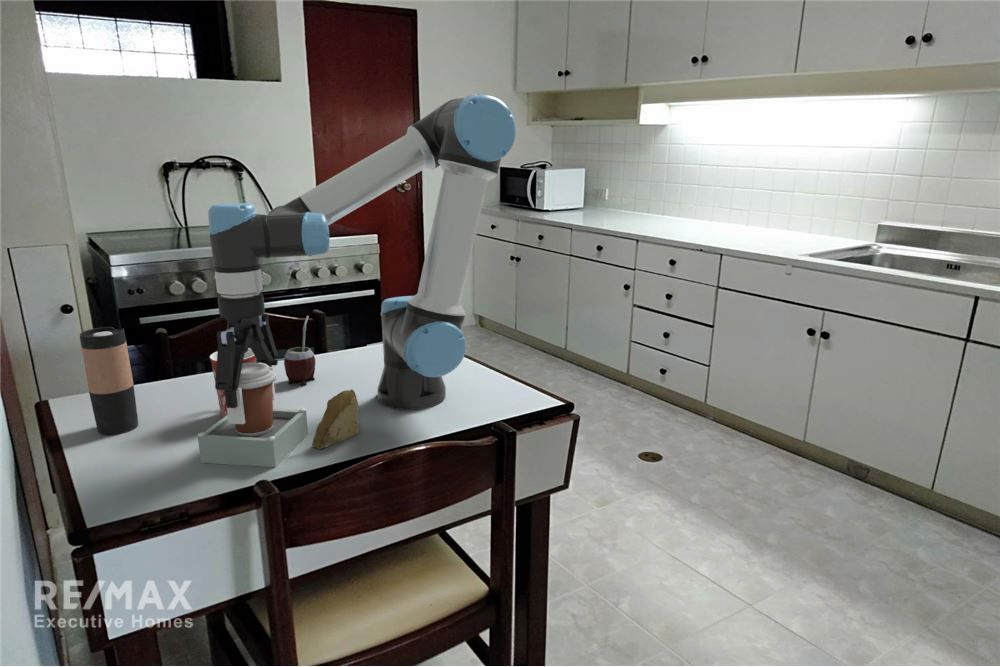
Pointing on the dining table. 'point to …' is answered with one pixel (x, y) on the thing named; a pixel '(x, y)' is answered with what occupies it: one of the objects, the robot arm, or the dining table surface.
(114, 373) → the travel mug
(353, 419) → the rock
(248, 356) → the mug
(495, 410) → the dining table surface
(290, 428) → the pale green square tray
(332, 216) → the robot arm
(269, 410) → the coffee cup
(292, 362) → the mate gourd
